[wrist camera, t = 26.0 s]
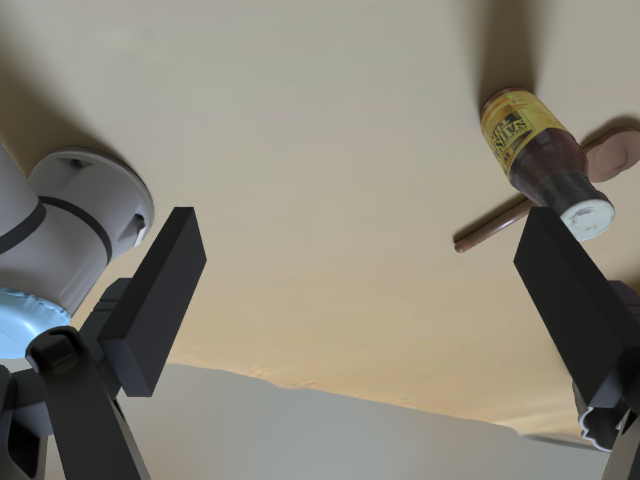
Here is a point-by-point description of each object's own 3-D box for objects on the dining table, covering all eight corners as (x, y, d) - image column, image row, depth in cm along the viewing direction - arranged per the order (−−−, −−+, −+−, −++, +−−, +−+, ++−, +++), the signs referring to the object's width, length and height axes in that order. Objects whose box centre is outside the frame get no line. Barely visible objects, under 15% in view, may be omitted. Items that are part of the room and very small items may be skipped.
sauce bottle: (486, 82, 44) (564, 172, 28) (545, 87, 44) (656, 180, 28) (469, 140, 48) (528, 247, 32) (523, 144, 48) (608, 254, 32)
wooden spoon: (464, 257, 58) (467, 264, 57) (443, 235, 56) (445, 242, 55) (647, 149, 47) (656, 155, 46) (629, 117, 45) (637, 122, 44)
